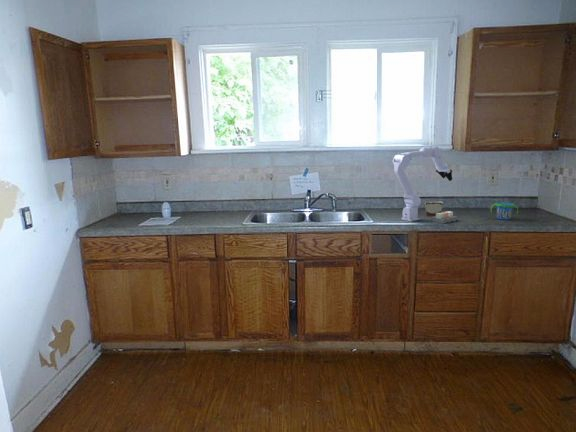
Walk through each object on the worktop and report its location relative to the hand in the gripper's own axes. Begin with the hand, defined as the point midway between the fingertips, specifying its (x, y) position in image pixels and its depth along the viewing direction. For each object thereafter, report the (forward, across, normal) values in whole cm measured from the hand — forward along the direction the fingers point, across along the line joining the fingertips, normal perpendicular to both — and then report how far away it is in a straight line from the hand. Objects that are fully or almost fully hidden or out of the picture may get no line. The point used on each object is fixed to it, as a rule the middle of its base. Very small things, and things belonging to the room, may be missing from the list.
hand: (447, 178), depth 258 cm
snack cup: (+36, -22, -12) cm, 43 cm away
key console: (+13, -18, +21) cm, 31 cm away
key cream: (+14, -16, +17) cm, 27 cm away
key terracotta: (+12, -18, +20) cm, 29 cm away
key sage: (+9, -19, +23) cm, 32 cm away
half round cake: (+16, -1, +21) cm, 27 cm away
